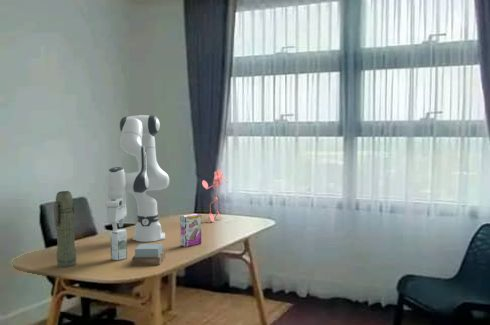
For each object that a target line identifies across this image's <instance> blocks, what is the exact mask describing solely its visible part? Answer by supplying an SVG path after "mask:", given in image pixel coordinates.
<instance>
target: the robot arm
mask: <svg viewBox="0 0 490 325" xmlns="http://www.w3.org/2000/svg"><path fill="white" fill-rule="evenodd" d="M160 126H161V123H160V119H159V118H158V117H157V115H153V114H151V115H145V114H139V115H130V116H129V115H126V116H123V117H122V118H121V119H120V121H119V130H120V132H121V134H120V137H119V146H120V148H121V149H122V151H123V152H125V153H126V154H128V155H129V156H133V157H135V160H136V162H137V163H138V164H137V165H138V171H134V172H125V169H124V167H121V166H119V167H118V166H117V167H116V166H115V167H111V168H109V169H108V171H107V175H106V176H107V179H106V181H107V182H106V184H107V185H106V186H107V199H106V200H105V201H106V202H105V207H106V215H107V216H106V217H107V222H108V224H111V226H112V230H113V231H117V229H118V228H123V227H124V220H125V218H126V217H127V215H128V212H127V211H128V210H127V193H130V194H132V195H133V197H134V198H135V201H136V207H137V215H136V222H137V223H136V224H135V225H134V236H133V237H131V240H133V241H136V242H144V243H145V242H147V243H148V242H156V241H162V240H165V239H166V233H165V232H163V230H162V225H161V223H160V221H159V213H158V201H157V200H156V198H154V197H152V196H150V195H148V194H147V193H146V192H150V191H160V190H164V189H167V188H168V187H169V185H170V176H169V175H168V173H167V172H166V171H164V170H163V168H161V167H160V165H159V163H158V161H157V160H158V159H157V152H156V151H157V150H156V139H155V135H157V134H158V133H159V131H160V128H161V127H160ZM117 222H118V224H117Z"/></svg>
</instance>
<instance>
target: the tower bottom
mask: <svg viewBox="0 0 490 325" xmlns="http://www.w3.org/2000/svg"><path fill="white" fill-rule="evenodd" d="M165 259H166V251H165V250H163V252H162V253H161V254H160V256H159V257H135V255H134V256H132V257H131V264H132V266H160V265H161V264H162V262H164V260H165Z"/></svg>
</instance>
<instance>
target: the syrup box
mask: <svg viewBox="0 0 490 325" xmlns="http://www.w3.org/2000/svg"><path fill="white" fill-rule="evenodd" d="M109 234H110V238H109V239H110V259H111V260H114V261H122V260H126V259H128V237H127V236H128V235H127V234H128V232H127V230H126V229H125V228H117V231H113V229H112V230H111V229H110V232H109Z"/></svg>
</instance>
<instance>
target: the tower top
mask: <svg viewBox="0 0 490 325" xmlns="http://www.w3.org/2000/svg"><path fill="white" fill-rule="evenodd" d="M163 251H164V249H163V243H140V244H138V246H137V247H135V248H134V256H135V257H159V256H160V254H161V253H162V252H163Z"/></svg>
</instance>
